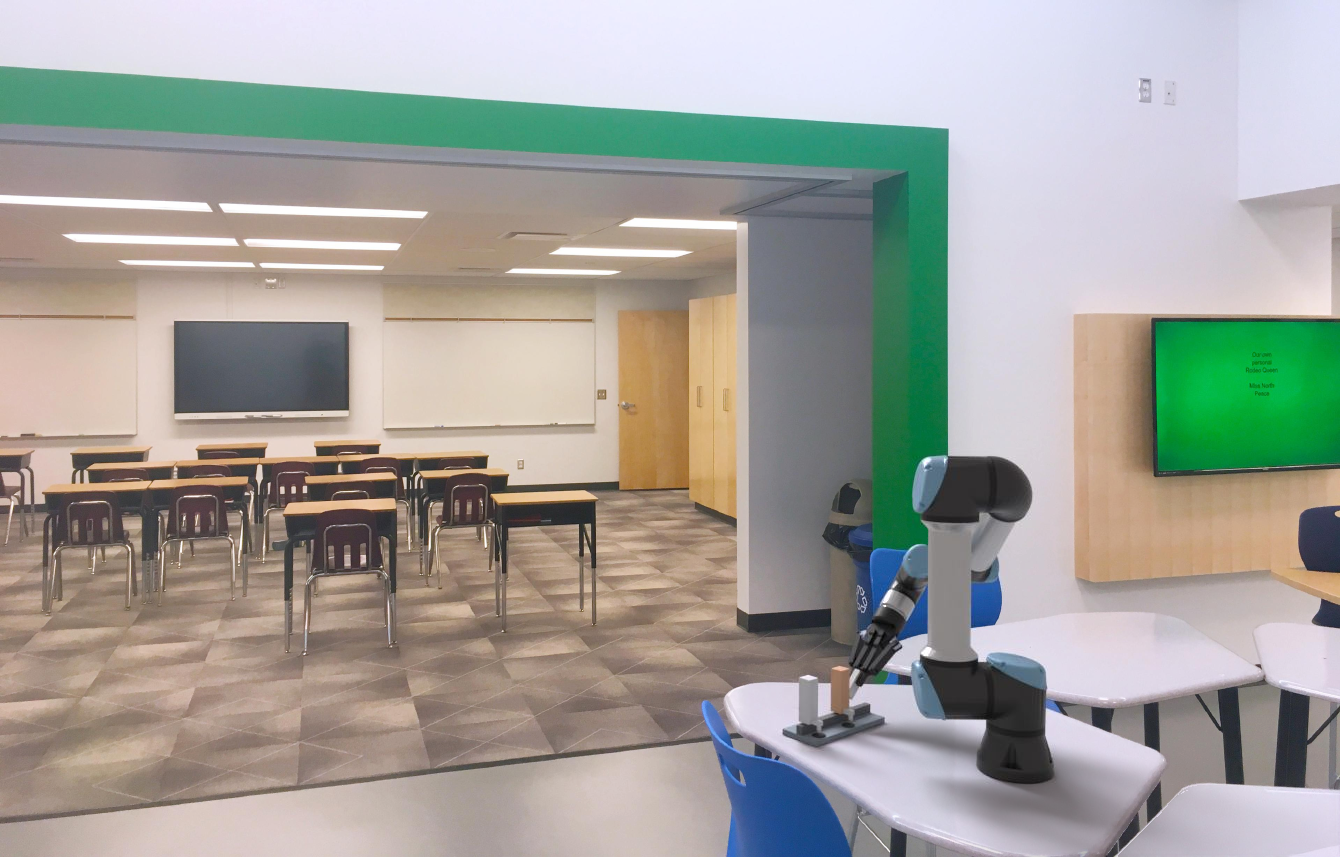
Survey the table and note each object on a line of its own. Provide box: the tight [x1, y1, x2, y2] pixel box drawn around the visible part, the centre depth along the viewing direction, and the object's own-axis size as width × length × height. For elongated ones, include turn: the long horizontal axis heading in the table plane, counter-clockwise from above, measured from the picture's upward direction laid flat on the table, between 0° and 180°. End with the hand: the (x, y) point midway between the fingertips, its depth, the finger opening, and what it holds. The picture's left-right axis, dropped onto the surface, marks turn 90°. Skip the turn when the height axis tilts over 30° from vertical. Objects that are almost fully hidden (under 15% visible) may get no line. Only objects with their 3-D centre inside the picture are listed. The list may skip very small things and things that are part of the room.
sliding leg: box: [830, 665, 855, 722], centre depth 231 cm, size 3×5×11 cm, turn 40°
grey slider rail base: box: [782, 674, 886, 747], centre depth 231 cm, size 24×10×14 cm, turn 130°
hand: (847, 695), depth 234 cm, fingers closed
